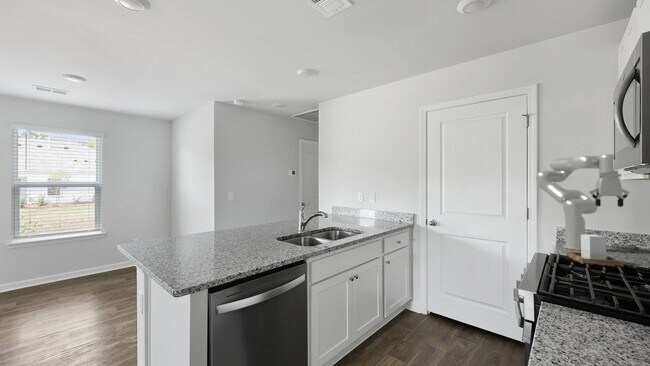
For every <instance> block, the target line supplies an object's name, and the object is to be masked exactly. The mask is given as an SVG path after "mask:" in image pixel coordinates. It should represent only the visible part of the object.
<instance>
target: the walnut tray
mask: <svg viewBox="0 0 650 366" xmlns="http://www.w3.org/2000/svg"><path fill="white" fill-rule="evenodd" d="M565 256H566V257H567V256H569V257H568V258H570V257H571V258H570V259H572V260H574V261H577V262H578V263H580V264H582V265H586V264H585V263H586V262H588V263H589V264H588V265H593V264H598V266H606V265H607V266H608V267H616V266H615V265H620V266H621V267H620V268H623V267H624V266H625V264H624V261H623V260H621V259H618V258H614V257H612V256H609V255H607V254H606V260H599V259H585V258H582V257H581V251H580V252H579V251H566V255H565Z"/></svg>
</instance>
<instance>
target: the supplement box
mask: <svg viewBox="0 0 650 366" xmlns="http://www.w3.org/2000/svg"><path fill="white" fill-rule="evenodd" d="M606 239H607V237H606V236H603V235H597V234H585V235H581V250H580V253H581V257H582V258H585V259H599V260H606V255H607V240H606Z"/></svg>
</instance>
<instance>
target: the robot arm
mask: <svg viewBox="0 0 650 366" xmlns="http://www.w3.org/2000/svg"><path fill="white" fill-rule="evenodd" d="M614 155H615V154H611V153H610V154H602V155H581V156H571V157H563V158H556V159H553V160H551V162H550V163H549V167H550V168H551V170H542V171H539V172H538V173H537V174H536V175H535V181H536V183H537V185H538V187H539V188H540V189H541V190H542V191H544V192H545V193H547V194H548V195H549V196H550V197H551V198H552V199H554V200H555V201H556V202H558V203H559V204H563V205H562V209H563V213H564V221H565V223H564V224H565V225H564V226H565V244H563V245H562V248H564V249H568V250H575V251H581V235H586V220H585V218H584V217H583V215H591V214H594V213H596V212H598V211H597V210H598V207H601V205H602V203H601V201H602V200H601V198H602V197H616V198H617V207H618V208H619V207H621V208H622V207H623V206H624V200H625V199H626V198H627V197H628V195H629V194H630V191H628V190H626V189H624V188H623V187H622V183H621V182H622V181H621V180H620V179H621V178H619V177H621V176H622V174H620V173H619V169H618V170H617V171H615V170H613V159H614ZM578 169H580V170H582V169H593V170H594V169H597V170H598V175H599V178H597V180H596V185H595V189H592V190H590V191H588V192H589V195H590V196H591V197H592V198H593V199H592V198H591V197H589V195H586V194H585V193H584V192H582V191H581V190H578V189H565V188H563V187H562V186H561V185H559V183H562V182H564V181H566V180H567V179H568V178H569V176H570V175H571V174H572V173H573V172H575V171H576V170H578ZM594 200H595V201H594Z"/></svg>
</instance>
